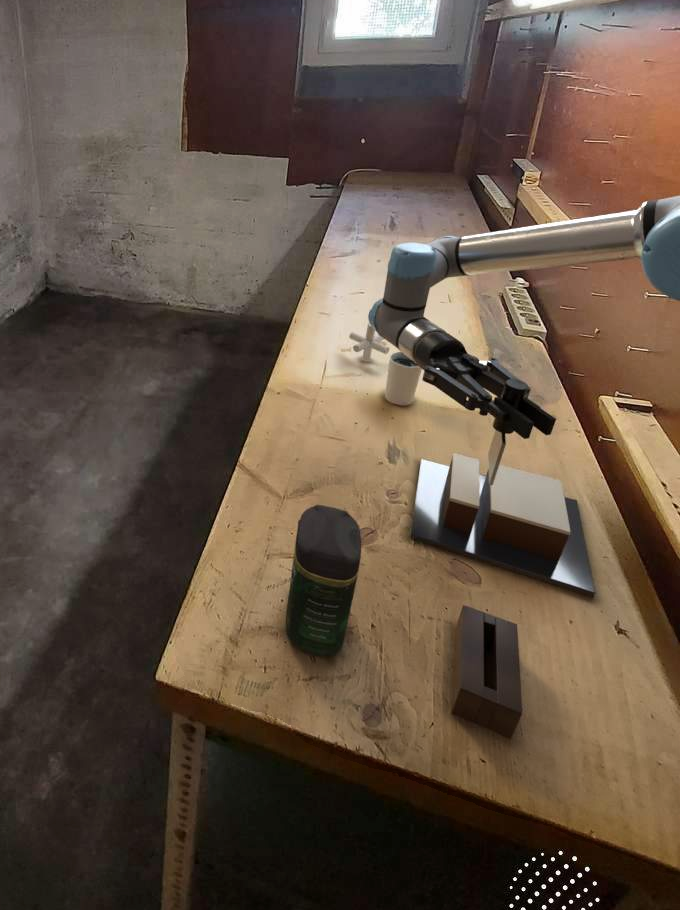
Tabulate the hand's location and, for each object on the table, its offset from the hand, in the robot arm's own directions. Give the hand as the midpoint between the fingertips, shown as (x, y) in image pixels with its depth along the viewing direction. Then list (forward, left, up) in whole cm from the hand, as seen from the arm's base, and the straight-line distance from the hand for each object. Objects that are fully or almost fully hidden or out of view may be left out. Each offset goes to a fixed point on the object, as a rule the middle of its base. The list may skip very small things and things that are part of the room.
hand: (540, 428), depth 79 cm
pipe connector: (+28, -50, -23) cm, 61 cm away
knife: (+4, -4, -12) cm, 13 cm away
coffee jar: (+23, +27, -23) cm, 42 cm away
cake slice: (+6, -5, -21) cm, 23 cm away
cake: (-2, -5, -21) cm, 22 cm away
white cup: (+19, -36, -23) cm, 46 cm away
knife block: (+3, +25, -22) cm, 34 cm away
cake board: (+1, -5, -22) cm, 23 cm away
